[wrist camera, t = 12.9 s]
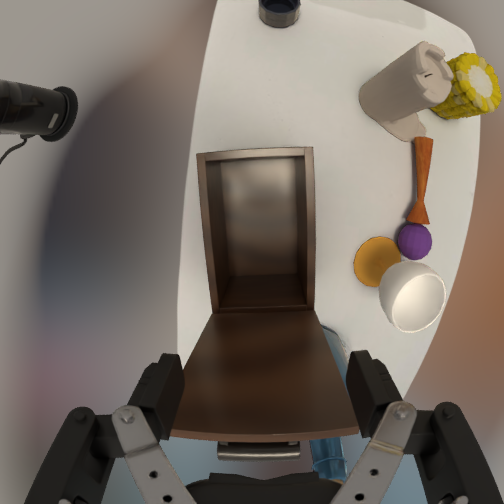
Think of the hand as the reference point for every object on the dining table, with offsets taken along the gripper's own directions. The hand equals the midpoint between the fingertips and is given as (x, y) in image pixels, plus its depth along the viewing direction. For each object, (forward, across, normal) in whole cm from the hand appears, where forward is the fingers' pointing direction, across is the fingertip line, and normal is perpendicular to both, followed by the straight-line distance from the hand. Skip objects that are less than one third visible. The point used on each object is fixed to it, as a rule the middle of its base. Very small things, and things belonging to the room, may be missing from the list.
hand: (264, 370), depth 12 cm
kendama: (+33, -26, -4) cm, 42 cm away
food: (+33, -32, -24) cm, 52 cm away
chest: (+34, 0, -1) cm, 34 cm away
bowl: (+34, -4, -36) cm, 49 cm away
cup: (+33, -20, +7) cm, 39 cm away
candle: (+34, -22, -18) cm, 44 cm away
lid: (+11, 0, +7) cm, 13 cm away
